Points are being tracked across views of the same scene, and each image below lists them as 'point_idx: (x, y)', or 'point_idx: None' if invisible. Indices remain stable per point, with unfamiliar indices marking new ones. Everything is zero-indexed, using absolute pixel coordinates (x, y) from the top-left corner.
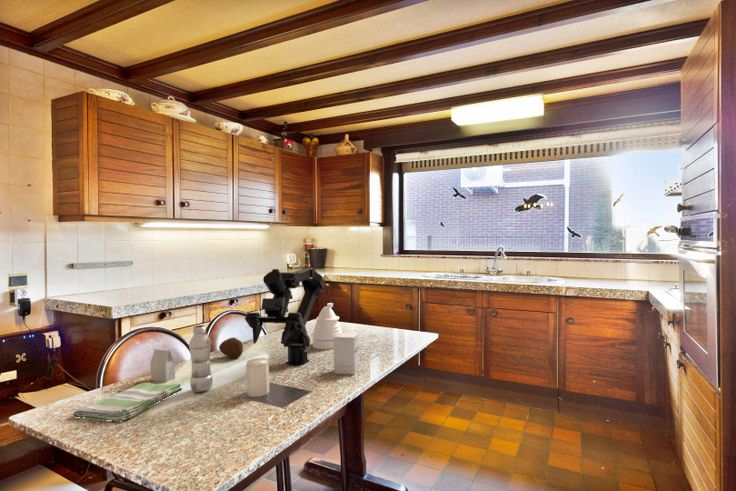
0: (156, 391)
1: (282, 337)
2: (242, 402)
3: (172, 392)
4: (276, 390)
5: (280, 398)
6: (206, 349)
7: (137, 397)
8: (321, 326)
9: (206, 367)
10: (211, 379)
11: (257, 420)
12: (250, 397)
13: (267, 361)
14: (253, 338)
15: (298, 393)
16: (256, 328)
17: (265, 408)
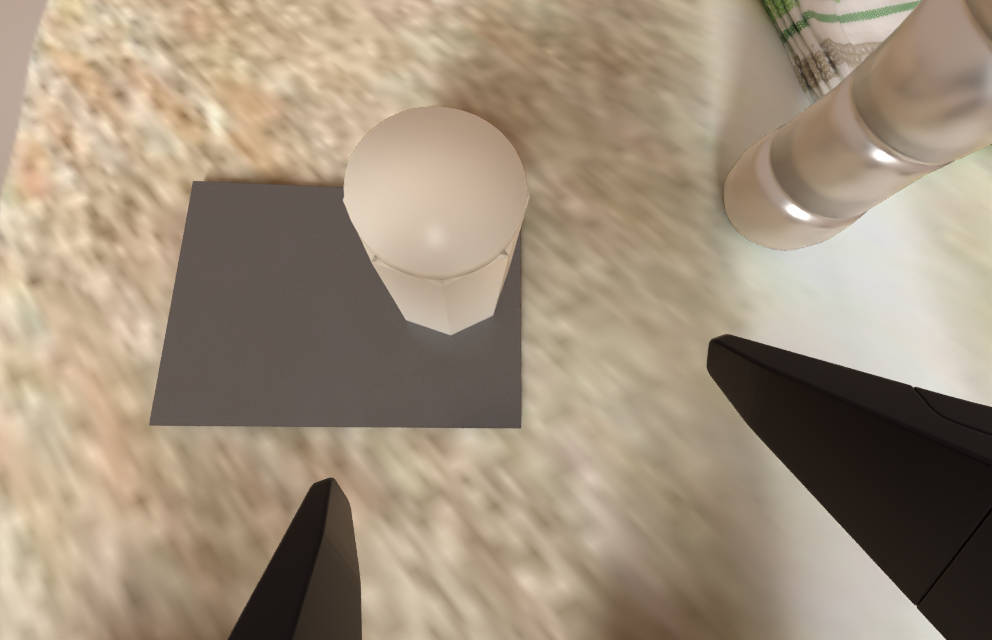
0: None
1: (306, 544)
2: None
3: None
4: (372, 342)
5: (276, 264)
6: (946, 12)
7: (895, 23)
8: None
9: (816, 127)
10: (757, 207)
11: (256, 80)
12: None
13: (357, 231)
14: (771, 349)
15: (216, 359)
16: (961, 459)
17: (302, 178)
